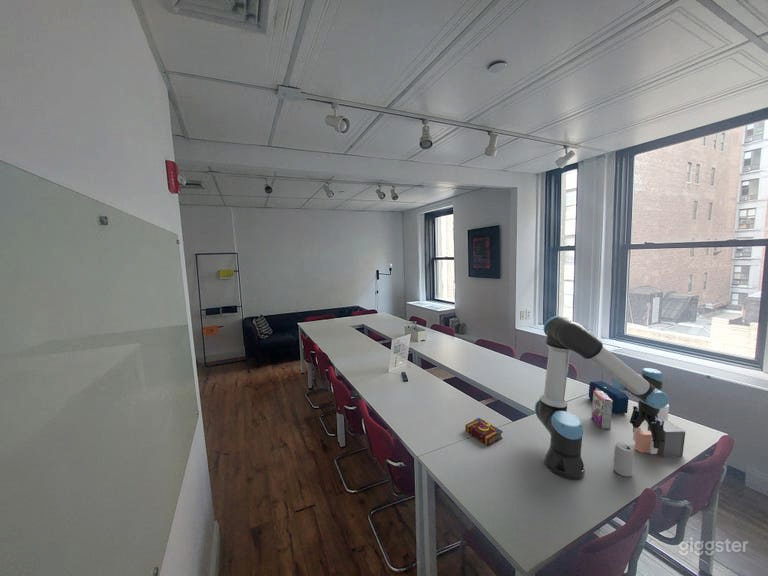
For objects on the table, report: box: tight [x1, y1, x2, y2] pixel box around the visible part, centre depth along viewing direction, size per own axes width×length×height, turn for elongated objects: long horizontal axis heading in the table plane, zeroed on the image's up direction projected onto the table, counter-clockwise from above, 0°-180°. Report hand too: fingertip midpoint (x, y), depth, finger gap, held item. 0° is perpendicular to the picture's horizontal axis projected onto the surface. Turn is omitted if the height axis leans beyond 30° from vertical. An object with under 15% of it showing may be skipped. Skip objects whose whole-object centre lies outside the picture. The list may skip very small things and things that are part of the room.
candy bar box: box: [591, 390, 613, 430], centre depth 165 cm, size 11×5×16 cm, turn 168°
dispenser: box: [647, 420, 687, 458], centre depth 143 cm, size 9×9×12 cm
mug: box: [657, 403, 670, 421], centre depth 170 cm, size 8×12×10 cm
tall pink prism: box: [634, 430, 659, 453], centre depth 143 cm, size 16×3×9 cm, turn 91°
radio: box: [588, 371, 630, 415], centre depth 182 cm, size 21×9×20 cm, turn 6°
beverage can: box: [612, 442, 635, 477], centre depth 130 cm, size 6×6×12 cm
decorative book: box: [465, 417, 503, 447], centre depth 158 cm, size 11×16×5 cm
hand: (644, 446), depth 143 cm, fingers open, 9 cm apart
